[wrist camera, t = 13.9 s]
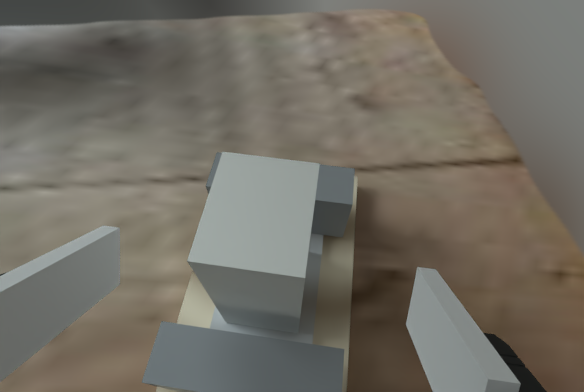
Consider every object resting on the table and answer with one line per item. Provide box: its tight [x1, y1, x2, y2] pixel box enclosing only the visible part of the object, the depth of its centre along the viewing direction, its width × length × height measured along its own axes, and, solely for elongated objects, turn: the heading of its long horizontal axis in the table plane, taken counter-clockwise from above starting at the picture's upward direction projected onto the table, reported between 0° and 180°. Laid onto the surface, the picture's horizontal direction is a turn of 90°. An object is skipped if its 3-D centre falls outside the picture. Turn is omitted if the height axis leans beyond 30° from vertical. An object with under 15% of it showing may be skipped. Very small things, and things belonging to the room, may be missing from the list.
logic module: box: [187, 152, 320, 333], centre depth 21 cm, size 6×5×11 cm
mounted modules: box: [142, 152, 355, 392], centre depth 24 cm, size 15×10×5 cm, turn 172°
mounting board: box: [156, 176, 358, 392], centre depth 27 cm, size 22×12×2 cm, turn 172°
